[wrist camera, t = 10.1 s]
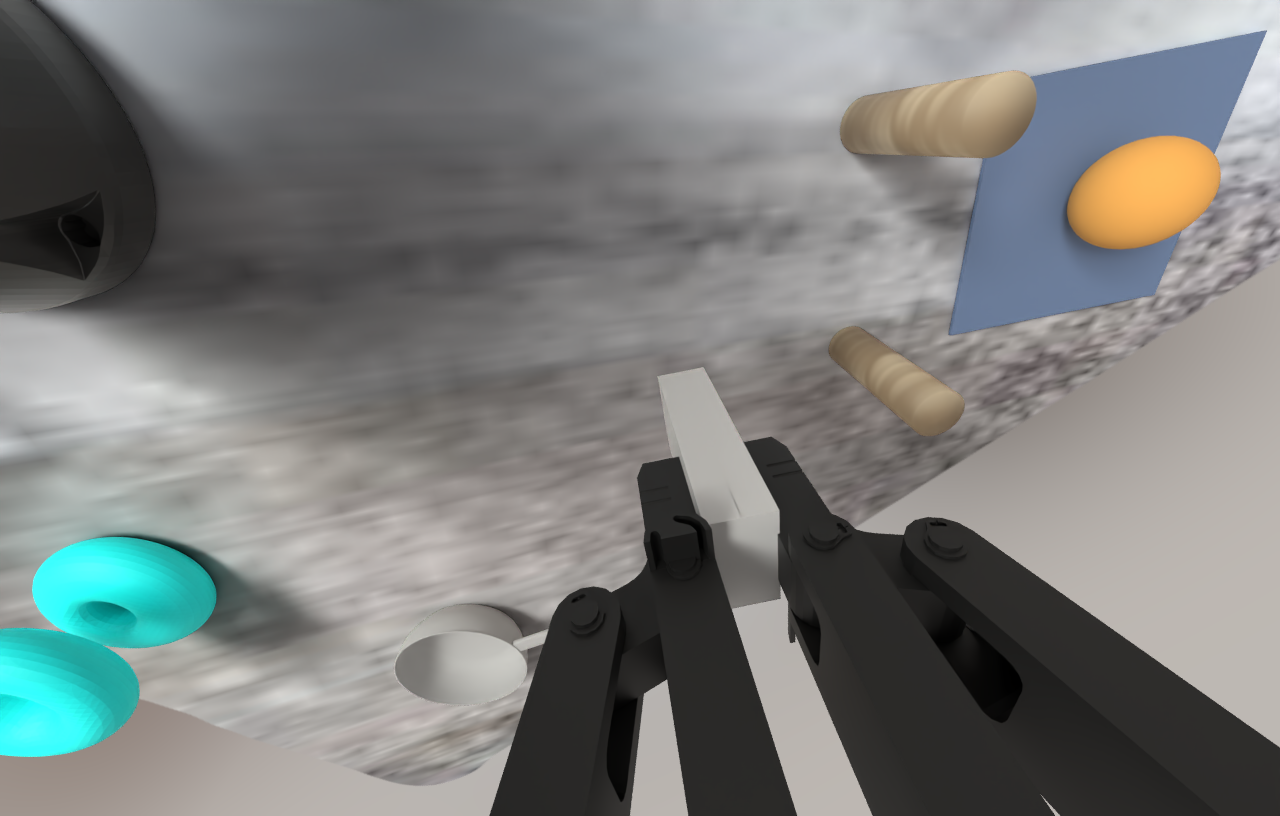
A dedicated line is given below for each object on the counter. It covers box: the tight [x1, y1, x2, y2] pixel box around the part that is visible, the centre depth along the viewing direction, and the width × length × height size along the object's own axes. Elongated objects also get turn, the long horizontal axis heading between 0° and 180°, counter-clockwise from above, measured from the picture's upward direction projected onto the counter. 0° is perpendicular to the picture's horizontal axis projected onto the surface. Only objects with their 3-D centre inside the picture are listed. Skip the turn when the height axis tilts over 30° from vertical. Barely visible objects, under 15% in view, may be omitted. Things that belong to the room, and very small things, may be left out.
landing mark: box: [949, 31, 1267, 335], centre depth 27 cm, size 14×14×1 cm
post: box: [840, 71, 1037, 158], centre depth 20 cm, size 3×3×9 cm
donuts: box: [0, 537, 216, 757], centre depth 30 cm, size 10×10×10 cm
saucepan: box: [394, 604, 548, 706], centre depth 39 cm, size 11×18×4 cm, turn 115°
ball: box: [1067, 136, 1221, 249], centre depth 24 cm, size 6×6×6 cm
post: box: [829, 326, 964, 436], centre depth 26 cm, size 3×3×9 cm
